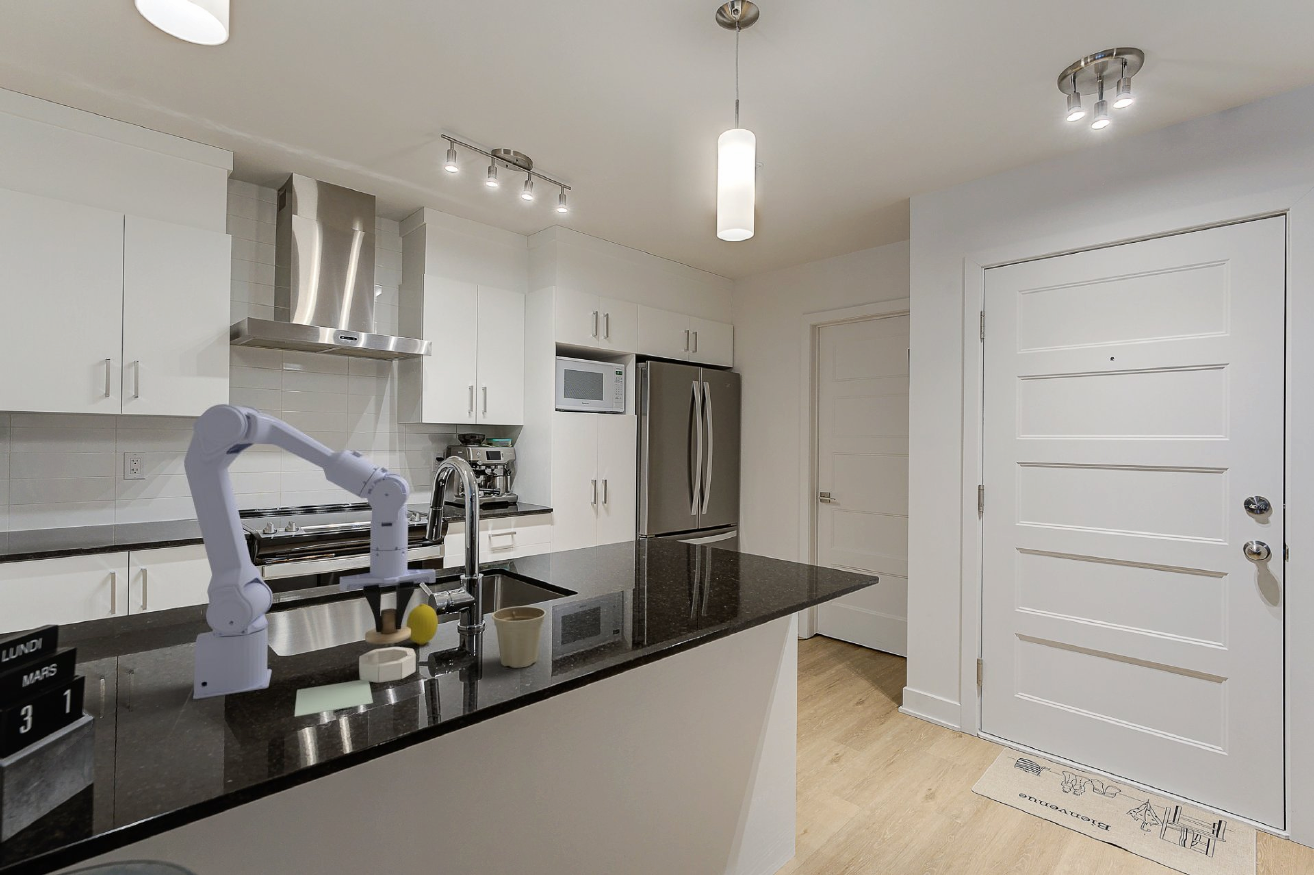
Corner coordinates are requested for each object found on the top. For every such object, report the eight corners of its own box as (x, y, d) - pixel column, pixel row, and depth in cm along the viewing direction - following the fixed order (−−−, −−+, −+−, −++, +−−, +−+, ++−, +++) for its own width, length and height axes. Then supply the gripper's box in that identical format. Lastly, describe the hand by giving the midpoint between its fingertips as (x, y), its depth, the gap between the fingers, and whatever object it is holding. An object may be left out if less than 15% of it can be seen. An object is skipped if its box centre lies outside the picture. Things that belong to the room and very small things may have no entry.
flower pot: (480, 661, 110) (481, 613, 110) (525, 649, 117) (525, 603, 117) (511, 676, 104) (511, 624, 104) (556, 662, 111) (557, 613, 111)
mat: (294, 719, 87) (294, 716, 87) (297, 692, 96) (297, 690, 96) (372, 705, 92) (372, 702, 92) (368, 681, 101) (368, 678, 101)
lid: (365, 646, 99) (365, 618, 99) (364, 633, 106) (365, 607, 106) (412, 640, 102) (412, 613, 102) (409, 628, 109) (409, 603, 109)
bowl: (361, 687, 98) (361, 668, 98) (358, 669, 106) (358, 651, 106) (417, 678, 102) (417, 660, 102) (411, 661, 110) (411, 644, 110)
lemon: (427, 652, 115) (427, 608, 115) (399, 649, 116) (400, 606, 116) (443, 642, 120) (443, 600, 120) (417, 639, 121) (417, 598, 121)
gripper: (340, 555, 97) (340, 642, 97) (438, 548, 104) (437, 630, 104) (339, 547, 103) (339, 629, 103) (432, 541, 110) (431, 618, 110)
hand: (388, 629), depth 104 cm, fingers closed on lid, 2 cm apart
